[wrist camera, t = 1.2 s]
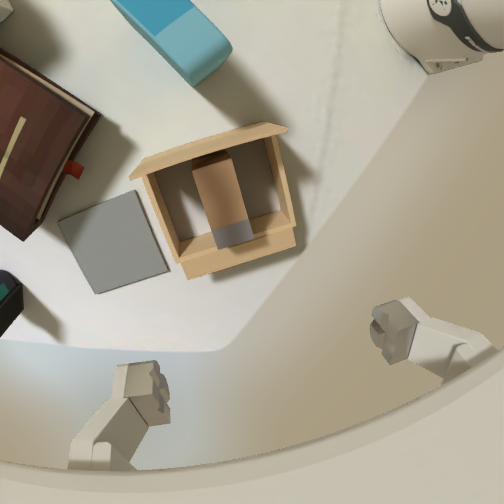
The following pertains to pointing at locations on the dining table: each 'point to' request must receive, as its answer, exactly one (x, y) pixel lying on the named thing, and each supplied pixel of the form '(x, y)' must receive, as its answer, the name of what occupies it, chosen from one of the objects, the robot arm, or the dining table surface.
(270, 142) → the drawer
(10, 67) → the decorative book
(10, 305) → the speaker
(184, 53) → the blue rounded block
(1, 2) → the skincare box
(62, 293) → the dining table surface
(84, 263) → the mat
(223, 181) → the box
